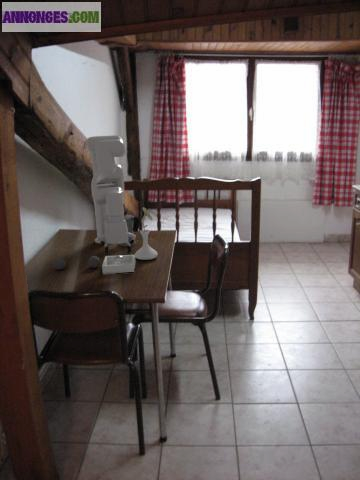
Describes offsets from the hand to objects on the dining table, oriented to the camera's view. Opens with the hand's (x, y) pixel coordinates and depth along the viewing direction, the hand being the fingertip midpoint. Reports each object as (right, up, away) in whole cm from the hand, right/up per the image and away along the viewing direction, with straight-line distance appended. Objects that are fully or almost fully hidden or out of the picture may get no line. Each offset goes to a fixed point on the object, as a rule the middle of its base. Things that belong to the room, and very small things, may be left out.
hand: (118, 253), depth 219 cm
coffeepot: (+1, +4, +38) cm, 38 cm away
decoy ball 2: (-12, -4, +3) cm, 13 cm away
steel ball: (0, -3, +1) cm, 3 cm away
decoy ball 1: (-28, -5, +3) cm, 28 cm away
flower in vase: (+12, -2, +15) cm, 20 cm away
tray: (0, -7, +2) cm, 7 cm away
